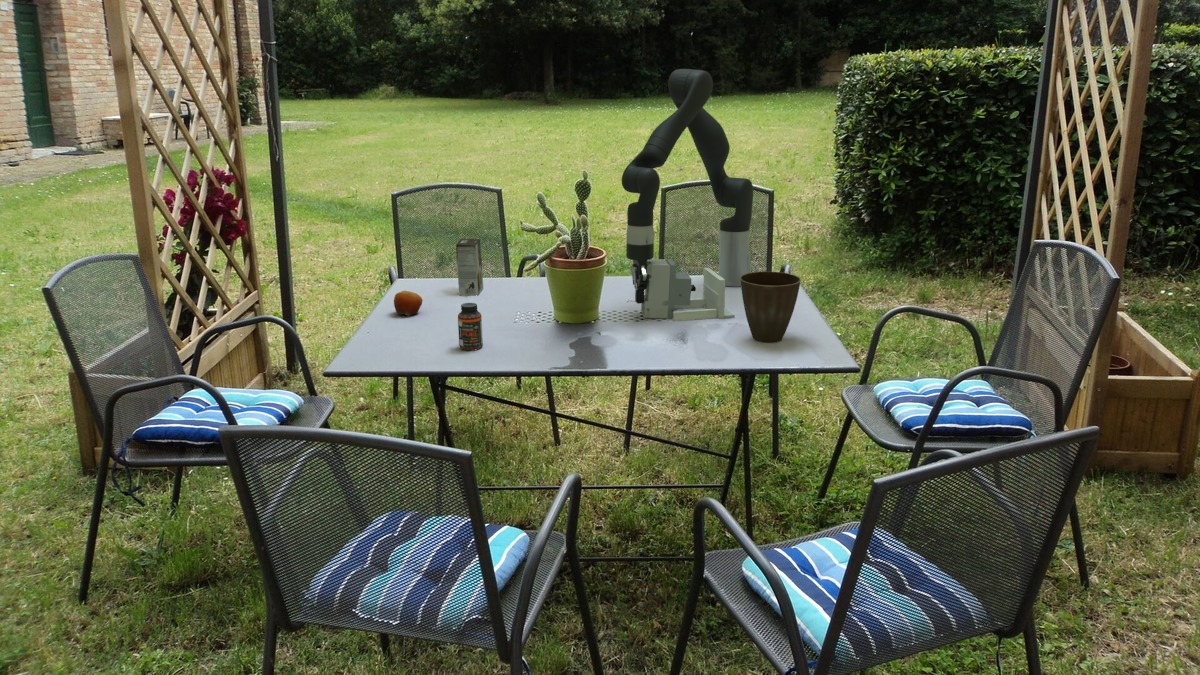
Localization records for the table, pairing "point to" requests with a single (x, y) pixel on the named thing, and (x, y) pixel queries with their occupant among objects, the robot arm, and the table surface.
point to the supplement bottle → (470, 327)
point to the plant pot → (769, 303)
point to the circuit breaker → (665, 289)
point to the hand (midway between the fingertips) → (639, 302)
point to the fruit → (407, 303)
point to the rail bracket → (707, 301)
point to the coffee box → (469, 267)
